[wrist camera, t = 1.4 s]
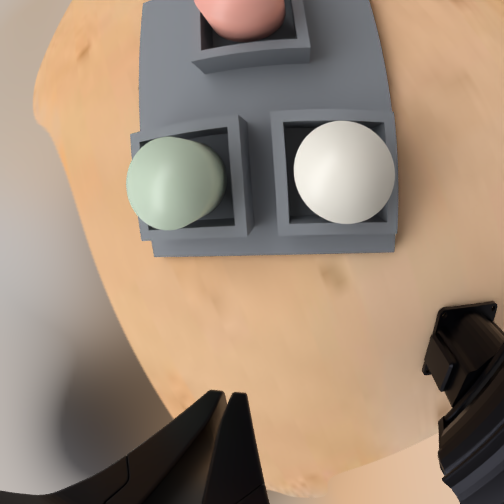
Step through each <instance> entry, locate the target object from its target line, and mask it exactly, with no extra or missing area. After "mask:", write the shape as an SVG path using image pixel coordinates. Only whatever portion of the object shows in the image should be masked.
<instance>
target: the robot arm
mask: <svg viewBox="0 0 504 504" xmlns="http://www.w3.org/2000/svg"><path fill="white" fill-rule="evenodd" d="M492 307H493V308H492ZM496 310H497V304H496V303H495V302H494V301H491V302H484V303H477V304H469V305H461V306H453V307H444V308H441V309H440V310H439V311H438V314H437V318H436V323H435V327H434V331H433V334H432V335H431V338H430V342H429V345H428V349H427V352H426V355H425V359H424V360H425V362H424V365H423V368H422V372H423V374H424V375H431V374H432V376H433V378H434V380H435V382H436V384H437V386H438V389H439V390H440V391H441V392H443V391H445V393H446V396H447V398H448V400H449V402H450V404H451V406H452V409H451V410H450V411H449V412H448V413H447V414H446V416H443V417H442V418H441V419H440V420H439V421H438V427H439V451H438V458H439V464H440V468H441V470H442V472H443V474H444V477H443V478H442V481H443V482H444V483H445V484H446V485H448V486H449V487H450V488H451V489H452V491H453V492H454V493H455V495H456V496H457V498H458V499H459V502H460V504H504V332H503V331H502V330H501V329H500V328H499V327H498V326H497V325H496V324H495V323H494V322H493V320H494V317H495V314H496ZM444 313H445V315H443V314H444ZM442 315H443V316H442ZM427 369H428V370H427ZM0 504H270V503H269V499H268V496H267V491H266V486H265V482H264V478H263V473H262V468H261V463H260V459H259V454H258V449H257V444H256V439H255V434H254V429H253V423H252V418H251V413H250V407H249V402H248V397H247V394H246V393H241V392H233V393H232V395H231V397H230V399H229V402H228V404H227V402H226V397H225V393H224V392H223V391H219V390H209V391H208V392H207V393H206V394H204V395H203V396H202V397H201V398H200V399H198V400H197V401H196V402H195V403H193V404H192V405H191V406H190V407H189V408H187V409H186V410H185V411H184V412H182V413H181V414H180V415H179V416H177V417H176V418H175V419H174V420H172V421H171V422H170V423H169V424H167V425H166V426H165V427H163V428H162V429H161V430H159V431H158V432H157V433H155V434H154V435H153V436H151V437H150V438H149V439H148V440H146V441H145V442H143V443H142V444H141V445H139V446H138V447H137V448H135V449H134V450H132V451H131V452H130V453H128V454H127V456H124V457H122V458H121V459H119V460H118V461H116V462H115V463H113V464H112V465H110V466H109V467H107V468H105V469H104V470H102V471H100V472H99V473H96V474H95V475H93V476H91V477H89V478H87V479H85V480H82V481H80V482H78V483H76V484H74V485H71V486H69V487H67V488H65V489H62V490H60V491H57V492H54V493H50V494H45V495H30V494H20V493H12V492H6V491H0Z"/></svg>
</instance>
